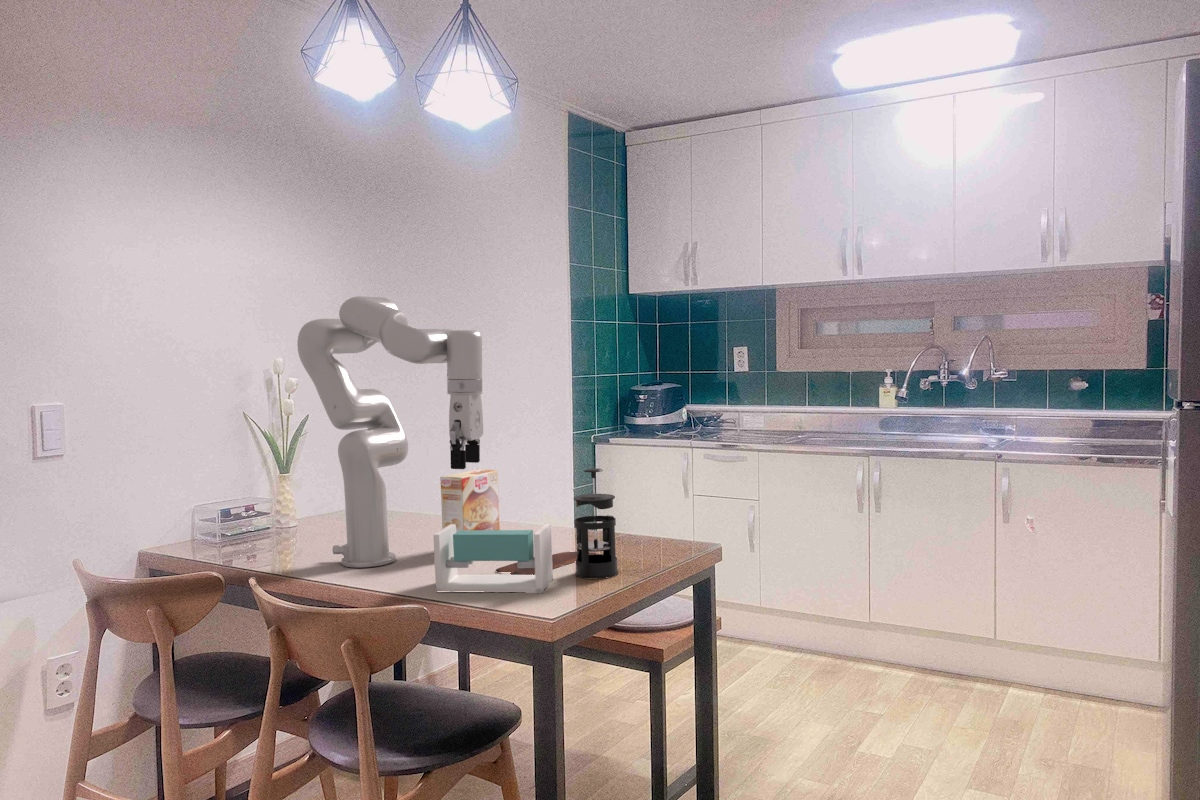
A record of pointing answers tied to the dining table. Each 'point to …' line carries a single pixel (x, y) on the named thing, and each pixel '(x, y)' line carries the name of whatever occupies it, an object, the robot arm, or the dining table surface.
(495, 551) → the plank
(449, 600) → the dining table surface
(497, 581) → the peg frame
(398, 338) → the robot arm
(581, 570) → the french press
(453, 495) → the coffeecake box
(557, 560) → the wooden tablet
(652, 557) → the dining table surface
